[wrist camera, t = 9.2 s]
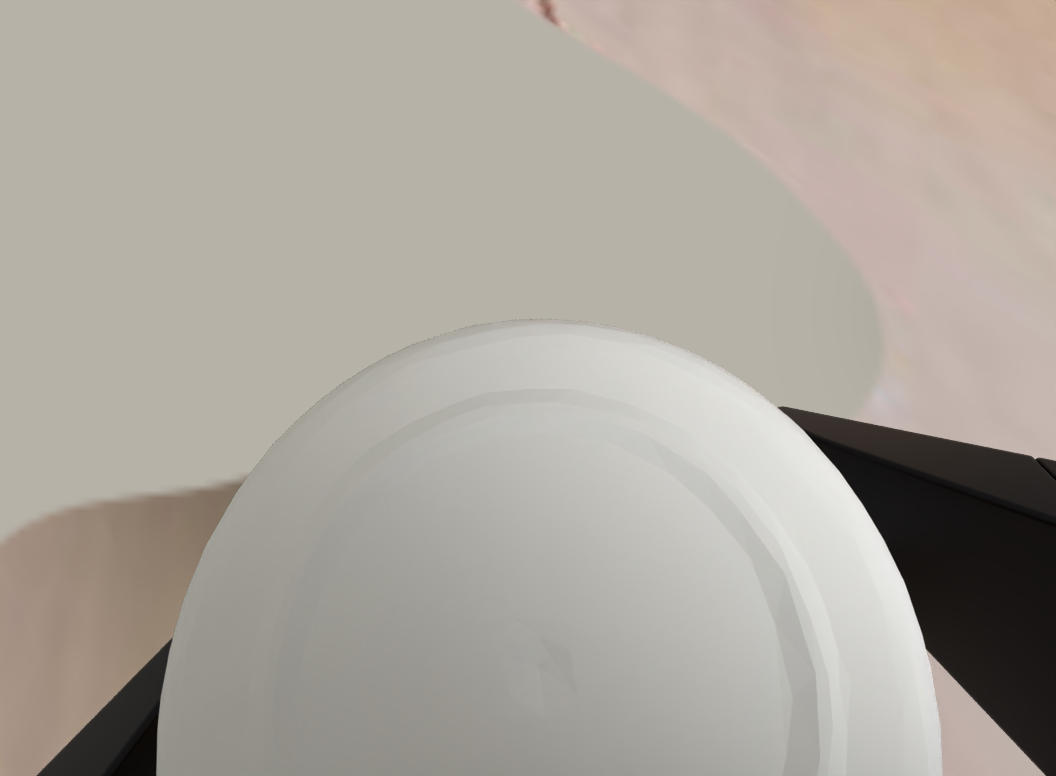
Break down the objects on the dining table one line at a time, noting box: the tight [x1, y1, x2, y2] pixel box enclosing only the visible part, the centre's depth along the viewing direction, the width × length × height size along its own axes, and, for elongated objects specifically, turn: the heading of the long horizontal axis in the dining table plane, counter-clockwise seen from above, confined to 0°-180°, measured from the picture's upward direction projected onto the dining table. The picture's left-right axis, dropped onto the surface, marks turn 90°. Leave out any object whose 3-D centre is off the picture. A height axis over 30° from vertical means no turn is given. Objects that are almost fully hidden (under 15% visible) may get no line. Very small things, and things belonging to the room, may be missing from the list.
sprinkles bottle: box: [156, 319, 943, 776], centre depth 9 cm, size 5×5×13 cm
